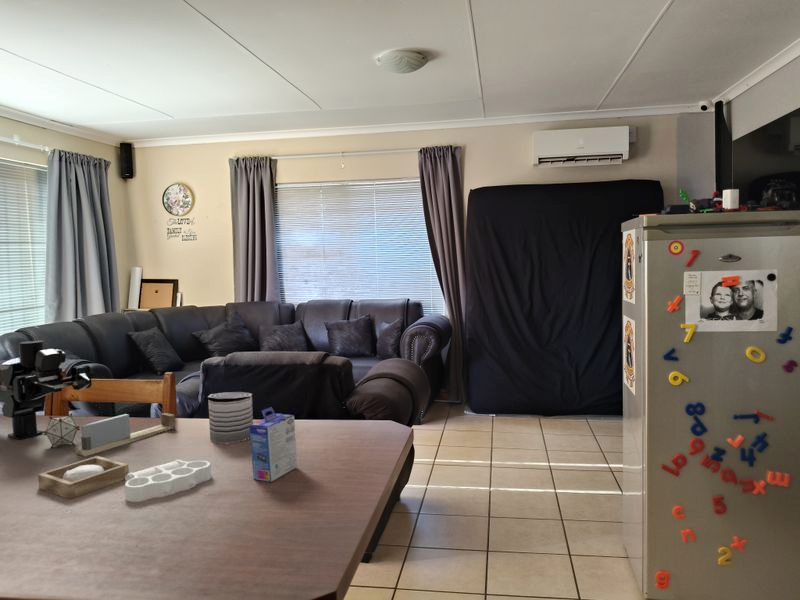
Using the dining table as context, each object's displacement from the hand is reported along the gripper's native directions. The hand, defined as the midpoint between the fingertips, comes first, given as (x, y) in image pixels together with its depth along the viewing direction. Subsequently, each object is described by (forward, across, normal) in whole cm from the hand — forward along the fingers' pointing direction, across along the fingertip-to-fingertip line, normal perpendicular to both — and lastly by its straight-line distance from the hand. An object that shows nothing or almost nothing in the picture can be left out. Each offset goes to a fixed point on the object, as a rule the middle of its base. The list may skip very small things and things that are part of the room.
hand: (71, 385), depth 149 cm
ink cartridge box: (+58, +12, +17) cm, 61 cm away
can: (+29, +26, +17) cm, 42 cm away
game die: (-6, 0, +17) cm, 18 cm away
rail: (+6, +11, +16) cm, 21 cm away
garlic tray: (+25, -12, +16) cm, 32 cm away
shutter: (+6, +5, +15) cm, 17 cm away
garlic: (+24, -12, +17) cm, 32 cm away
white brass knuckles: (+42, -4, +17) cm, 45 cm away
